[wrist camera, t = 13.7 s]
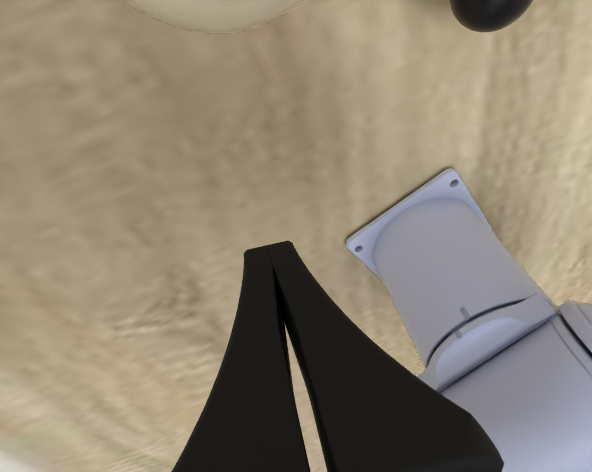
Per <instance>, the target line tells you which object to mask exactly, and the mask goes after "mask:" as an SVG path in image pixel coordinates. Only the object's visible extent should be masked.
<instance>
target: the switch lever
mask: <svg viewBox="0 0 592 472" xmlns="http://www.w3.org/2000/svg"><path fill="white" fill-rule="evenodd" d="M531 2H532V0H450V5H451V9H452V11H453V14H454V15H455V17H456V19H457V20H458V21H459V22H460V23H461V24H462V25H463V26H465V27H466V28H468V29H470V30H473V31H477V32H492V31H496V30H500V29H502V28H504V27H506V26H508V25H510V24H511V23H513V22H514V21H516V20H517V19H518V18H519V17H520V16H521V15H522V14H523V13H524V12H525V11H526V10H527V8H528V7H529V5H530V4H531Z"/></svg>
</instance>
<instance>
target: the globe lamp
mask: <svg viewBox="0 0 592 472" xmlns="http://www.w3.org/2000/svg"><path fill="white" fill-rule="evenodd" d="M124 1H125V2H127V3H128V4H130V5H131V6H132V7H134V8H135V9H137V10H139V11H141V12H142V13H144V14H146V15H148V16H149V17H151V18H153V19H155V20H158V21H160V22H163V23H165V24H167V25H170V26H173V27H176V28H180V29H183V30H187V31H191V32H198V33H205V34H229V33H236V32H243V31H247V30H250V29H254V28H257V27H261V26H263V25H265V24H267V23H269V22H272V21H274V20H276V19H278V18H279V17H281V16H283V15H284V14H286V13H287V12H289V11H290V10H292V9H293V8H294V7H296V6H297V5H298V4H299V3H300V2H302V1H303V0H124Z"/></svg>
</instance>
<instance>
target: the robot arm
mask: <svg viewBox="0 0 592 472" xmlns="http://www.w3.org/2000/svg"><path fill="white" fill-rule="evenodd" d="M453 180H455V181H454V182H453V183H451V182H452V181H453ZM450 183H451V184H450ZM346 246H347V248H348V249H349V250H350V251H351V252H352V253H353V254H354V255H355V256H356V257H357V258H358V259H359V260H360V261H362V262H363V263H364V264H365V265H366V266H367V267H368V268H369V269H370V270H371V271H372V272H373V273H374V274H375V275H376V276H378V277H379V278H380V279H381V280H382V281H383V282H384V284H385V286H386V288H387V290H388V292H389V294H390V296H391V298H392V301H393V303H394V305H395V307H396V309H397V311H398V313H399V315H400V317H401V319H402V321H403V323H404V325H405V327H406V329H407V331H408V333H409V336H410V338H411V340H412V342H413V344H414V346H415V348H416V350H417V352H418V354H419V356H420V358H421V360H422V362H423V364H424V366H425V368H426V369H425V370H424V371H423V372H422V373H421V374H420V375H418V376H417V377H416V376H415V375H413V374H412V373H411V372H410V371H408V370H407V369H406V368H405V367H403V366H402V365H401V364H400V363H398V362H397V361H396V360H395V359H393V358H392V357H391V356H390V355H388V354H387V353H386V352H385V351H383V350H382V349H381V348H380V347H379V346H378V345H377V344H375V343H374V342H373V341H372V340H371V339H370V338H369V337H368V336H367V335H366V334H364V333H363V332H362V331H361V330H360V329H359V328H358V327H357V326H356V325H355V324H354V323H353V322H352V321H351V320H350V319H349V318H348V317H347V316H346V315H345V314H344V313H343V311H342V310H341V309H340V308H339V307H338V306H337V305H336V304H335V303H334V302H333V300H332V299H331V298H330V297H329V296H328V295H327V293H326V292H325V291H324V290H323V288H322V287H321V286H320V285H319V283H318V282H317V281H316V280H315V278H314V277H313V276H312V274H311V273H310V271H309V270H308V269H307V267H306V266H305V264H304V263H303V261H302V260H301V258H300V256H299V255H298V253H297V251H296V249H295V248H294V245H293V243H292V242H290V241H284V242H280V243H275V244H271V245H266V246H262V247H257V248H253V249H249V250H246V252H245V253H244V271H243V280H242V287H241V293H240V298H239V303H238V309H237V313H236V317H235V321H234V325H233V328H232V332H231V336H230V340H229V343H228V346H227V349H226V353H225V356H224V359H223V361H222V364H221V367H220V370H219V373H218V375H217V378H216V380H215V383H214V385H213V388H212V390H211V393H210V395H209V398H208V400H207V402H206V405H205V407H204V409H203V411H202V413H201V416H200V418H199V420H198V422H197V424H196V426H195V428H194V430H193V432H192V434H191V436H190V438H189V440H188V442H187V444H186V446H185V448H184V450H183V452H182V454H181V456H180V458H179V459H178V461H177V463H176V465H175V467H174V468H173V470H172V472H310V467H309V463H308V458H307V454H306V449H305V445H304V440H303V436H302V431H301V427H300V422H299V418H298V413H297V408H296V403H295V397H294V392H293V384H292V377H291V369H290V361H289V354H288V346H287V338H286V331H285V325H286V328H287V331H288V334H289V337H290V340H291V343H292V346H293V349H294V352H295V355H296V358H297V361H298V364H299V367H300V370H301V373H302V376H303V379H304V382H305V385H306V388H307V391H308V394H309V398H310V401H311V405H312V409H313V414H314V418H315V422H316V426H317V430H318V434H319V438H320V443H321V447H322V451H323V455H324V459H325V463H326V468H327V472H592V304H589V303H581V302H579V303H577V302H575V301H573V300H568V301H566V302H565V303H563V304H562V305H560V306H557V305H556V304H554V303H553V302H552V301H551V299H550V298H549V297H548V296H547V295H546V294H545V293H544V291H543V290H542V289H541V288H540V287H539V286H538V284H537V283H536V282H535V281H534V280H533V279H532V278H531V276H530V275H529V274H528V273H527V272H526V271H525V269H524V268H523V267H522V266H521V265H520V264H519V263H518V261H517V260H516V259H515V258H514V257H513V256H512V254H511V253H510V252H509V251H508V250H507V249H506V248H505V246H504V245H503V244H502V243H501V242H500V241H499V239H498V238H497V236H496V235H495V233H494V231H493V230H492V228H491V226H490V225H489V223H488V221H487V220H486V218H485V216H484V215H483V213H482V211H481V210H480V208H479V206H478V205H477V203H476V202H475V200H474V198H473V197H472V195H471V193H470V192H469V190H468V188H467V187H466V185H465V183H464V182H463V180H462V178H461V177H460V175H459V173H458V172H457V171H456V170H455V169H453V168H449V169H447V170H445V171H443V172H442V173H440V174H439V175H438V176H436V177H435V178H433V179H432V180H430V181H429V182H428V183H426V184H425V185H423V186H422V187H420V188H419V189H418V190H416V191H415V192H413V193H412V194H411V195H409V196H408V197H406V198H405V199H403V200H402V201H401V202H399V203H398V204H396V205H395V206H393V207H392V208H391V209H389V210H388V211H386V212H385V213H383V214H382V215H381V216H379V217H378V218H376V219H375V220H373V221H372V222H371V223H369V224H368V225H366V226H365V227H363V228H362V229H361V230H359V231H358V232H356V233H355V234H353V235H352V236H351V237H349V238H348V239H347V241H346ZM358 246H360V247H358ZM356 247H358V248H356ZM284 322H285V323H284Z"/></svg>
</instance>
